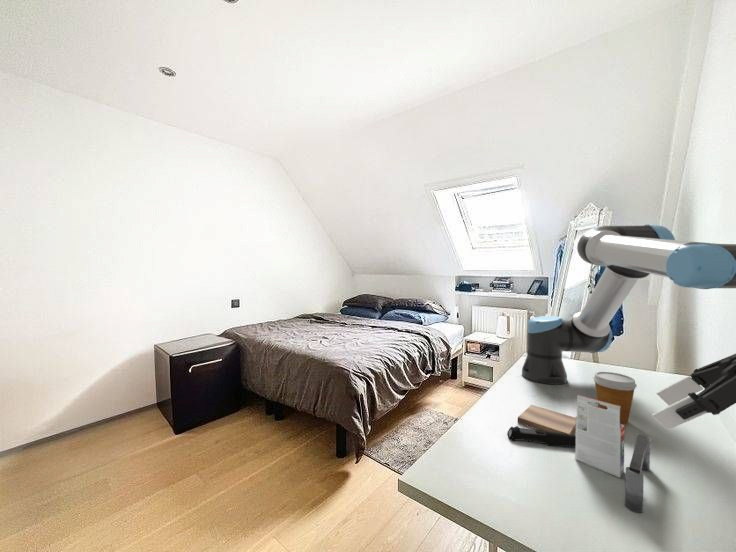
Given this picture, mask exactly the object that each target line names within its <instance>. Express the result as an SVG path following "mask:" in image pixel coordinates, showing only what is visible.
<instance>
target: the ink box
mask: <svg viewBox="0 0 736 552" xmlns="http://www.w3.org/2000/svg"><path fill="white" fill-rule="evenodd" d="M576 398H577V399H576V401H577V403H576V416H575V418H576V430H575V436H576V447H575V450H574V452H575V453H574V454H575V456H574V457H575V460H576V461H577V462H580V463H582V464H584V465H587V466H590V467H592V468H595V469H596V470H599V471H600V472H601V471H602V472H604V473H606V474H610V475H612V476H614V477H617V478H619V479H620V478H621V476H622V475H623V473H624V471H625V437H626V436H625V435H626V434H625V429H626V426H625V425H622V424H620V407H621V406H618V405H615V404H611V403H607V402H603V401H600V400H597V398H596V399H595V398H593V397H589V396H586V395H585V396H584V395H581V394H577V396H576ZM590 403H592V404H596V403H597V404H598V403H600V405H604V406H606V407H607V408H608V409H603V408H599V407H598V406H595V405H592V404H590Z"/></svg>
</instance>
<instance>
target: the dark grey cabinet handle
mask: <svg viewBox="0 0 736 552" xmlns="http://www.w3.org/2000/svg"><path fill="white" fill-rule="evenodd" d="M650 460H651V437H649V436H648V435H646V434H644V433H635V435H634V449H633V452H632V456H631V460H630V464H629V466H627V467H625V475H624V476H625V481H624V482H625V483H624V485H625V486H624V493H625V494H624V506H625V507H626V508H627V510H629V511H631V512H633V513H636V514H642V513H644V479H645V478H644V476H645V474H644V473H643V471H645V472H647V471H650V469H651V467H650V466H651V461H650Z"/></svg>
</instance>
